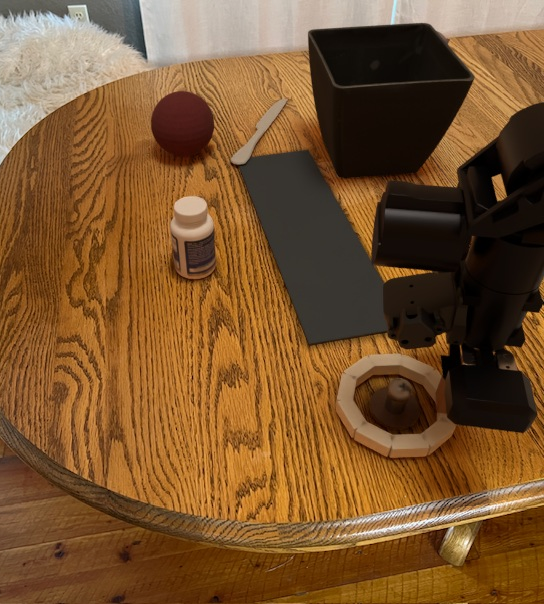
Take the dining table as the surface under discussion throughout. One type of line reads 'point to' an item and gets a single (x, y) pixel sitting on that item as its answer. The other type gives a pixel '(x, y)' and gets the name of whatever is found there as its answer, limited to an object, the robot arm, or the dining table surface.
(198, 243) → the pill bottle
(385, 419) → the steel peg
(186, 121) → the decorative ball
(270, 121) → the butter knife
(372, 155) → the flower pot
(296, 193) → the rubber mat
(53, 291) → the dining table surface
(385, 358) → the ivory ring
